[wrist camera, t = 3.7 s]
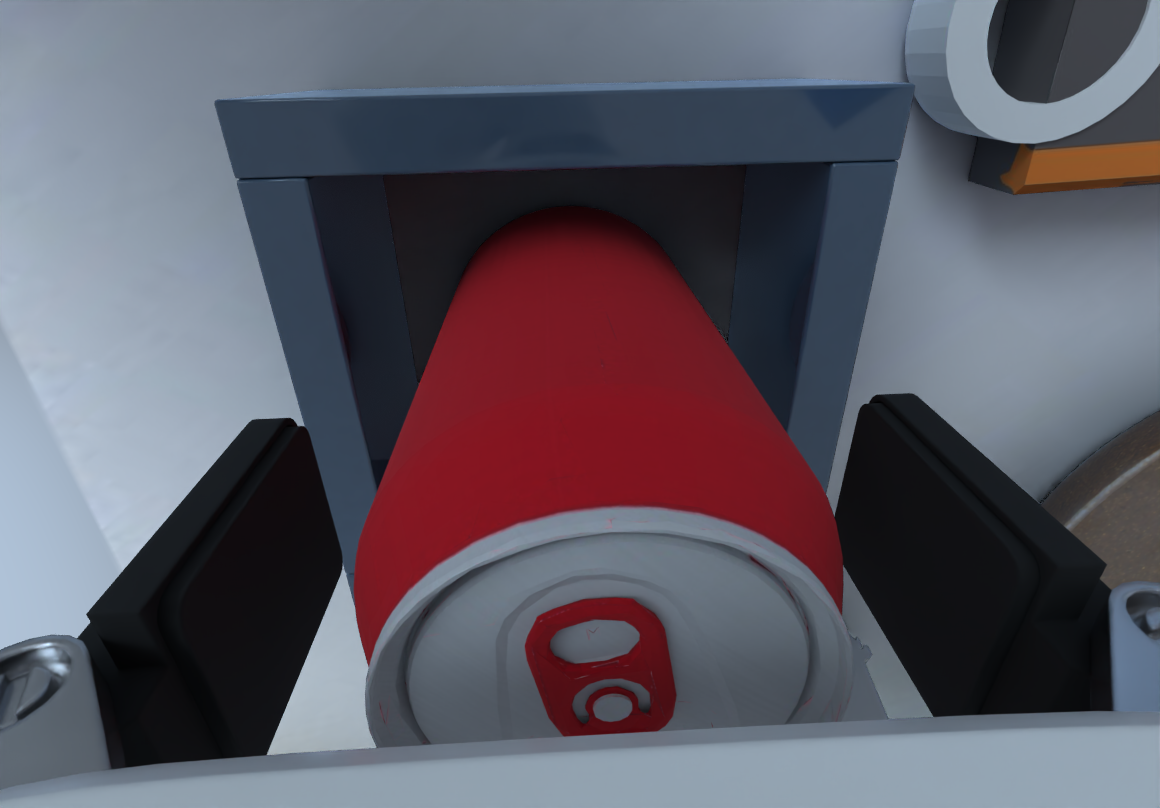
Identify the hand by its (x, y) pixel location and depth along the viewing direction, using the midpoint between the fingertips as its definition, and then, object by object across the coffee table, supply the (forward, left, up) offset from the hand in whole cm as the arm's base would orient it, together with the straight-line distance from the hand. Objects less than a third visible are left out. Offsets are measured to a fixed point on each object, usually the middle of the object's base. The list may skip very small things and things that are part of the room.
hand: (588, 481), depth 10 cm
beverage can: (0, 0, -8) cm, 8 cm away
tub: (0, 0, -8) cm, 8 cm away
